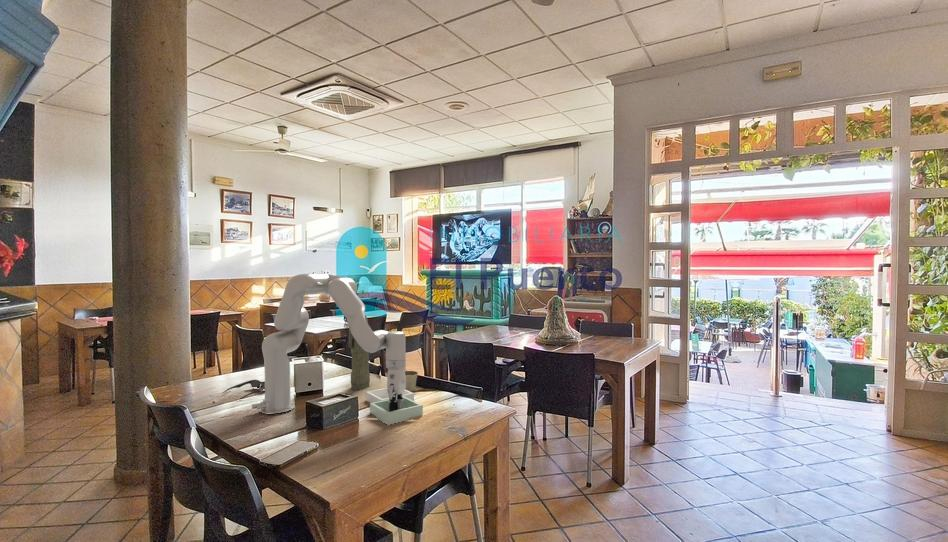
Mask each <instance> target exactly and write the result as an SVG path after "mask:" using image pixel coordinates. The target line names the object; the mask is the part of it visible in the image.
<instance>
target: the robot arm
mask: <svg viewBox="0 0 948 542" xmlns="http://www.w3.org/2000/svg"><path fill="white" fill-rule="evenodd" d="M357 291H358V286H357V283H356V282H355V280H353V278H350V277H346V276H340V275H333V274H328V273H320V272H319V273H314V272H313V273H300V274H297V275H296V274H295V275H294V276H292V277H290V278H289V280H288V281H287V283H286V285H285V288H284V292H283V295H282V298H281V300H280V302H279V305H278V308H277V310H276V311H277V312H276V314H275V316H274V321H273V323H274V324H273V325H274V328H275V329H276V330H278V331H277V332H272V333H270V334H268V335H267V336H266V337H265V338H264V339H263V340H262V344H261V351H262V357H263V362H264V363H263V365H264V382H265V392H264V399H262V401H261V402H258V403H257V402H256V403H251V409H252V410H254V409H256V410H260V413H261V412H263V413H280V412H284V411H287V410H290V409H292V408H294V407H295V404H294V403H292V402H291V364H290V359H289V357H288V354H289V353H291V352H294V351H296V350H297V349H298V348H299V347H300V345H301V344H302V341H303V338H304V337H305V333H306V331H307V328H308V325H309V320H310V316H309V315H310V314H309V312H308V311H307V309H306V308H305V307H303V306H304V304H305V300H306V299H305V296H307V295H320V294H321V295H329V296H330V297H331V299H332V301H333V302H334V304H336V306H337V307H338V308H339V310H340V311H341V313H342V314H343V315H344V317H345V318H346V321H347V325H348V327H349V328H350V331H351V333H352V335H353V337H354V338H355V340H356V341H357V342H358V344H359V345H360V346H361V347H362V349H364V350H365V351H366V352H369V354H373V353H376V352H379V351H381V350H384V349H385V368H386V369H387V377H386V378H387V379H386V388H387V393H388V394H389V395H388V397H389V412H391V411H396V410H398V402H397V399H402V392H403V391H404V390H405V388H406V379H405V371H406V369H405V368H406V367H407V366H406V363H407V362H406V356H407V355H406V351H407V350H406V333H405V332H404V331H399V330H397V331H395V330H394V331H389V330H384V329H378V330H375V331H374V330H372V327H371V328H370V327H369V325H370V324H369V323H368V324H369V325H368V324H367V322H366V320H365V316H366V315H365V313H366V305H365V304H364V302H363V301H362V300H361V299H360V297H359V296H358V295H357ZM364 315H365V316H364ZM349 328H348V329H349ZM393 392H395V394H393ZM393 395H395V397H393ZM294 409H295V408H294ZM263 413H262V414H263Z"/></svg>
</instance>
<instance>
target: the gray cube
mask: <svg viewBox="0 0 948 542" xmlns="http://www.w3.org/2000/svg"><path fill="white" fill-rule="evenodd" d="M397 402H398V410H400V409H404V399H397ZM388 412H389V402H388Z"/></svg>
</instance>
